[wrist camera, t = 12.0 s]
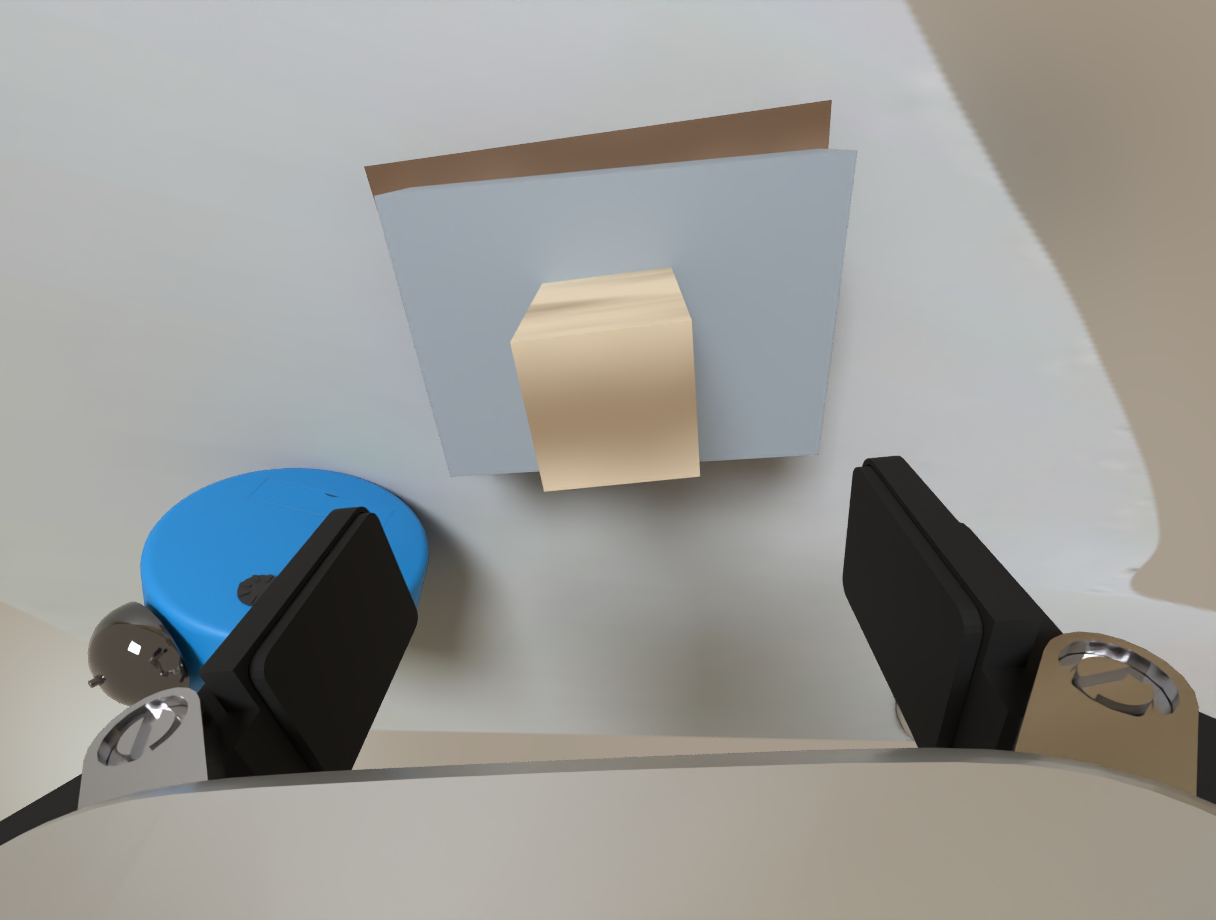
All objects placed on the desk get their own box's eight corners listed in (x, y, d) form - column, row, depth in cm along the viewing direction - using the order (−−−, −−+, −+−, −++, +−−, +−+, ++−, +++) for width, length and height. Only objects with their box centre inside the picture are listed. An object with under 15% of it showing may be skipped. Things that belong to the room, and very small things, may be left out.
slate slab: (794, 415, 28) (818, 454, 25) (470, 436, 29) (450, 476, 26) (820, 148, 22) (857, 150, 19) (411, 187, 23) (374, 196, 20)
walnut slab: (788, 389, 32) (808, 420, 28) (470, 421, 33) (453, 454, 30) (802, 104, 25) (831, 99, 21) (398, 162, 26) (364, 166, 23)
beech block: (679, 388, 23) (700, 476, 17) (564, 401, 24) (544, 491, 18) (671, 266, 21) (692, 320, 15) (542, 283, 21) (509, 341, 15)
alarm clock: (246, 513, 37) (41, 720, 24) (247, 437, 33) (13, 626, 21) (440, 566, 39) (348, 782, 26) (457, 498, 36) (364, 705, 23)
